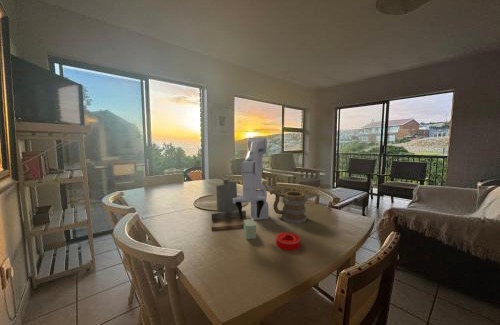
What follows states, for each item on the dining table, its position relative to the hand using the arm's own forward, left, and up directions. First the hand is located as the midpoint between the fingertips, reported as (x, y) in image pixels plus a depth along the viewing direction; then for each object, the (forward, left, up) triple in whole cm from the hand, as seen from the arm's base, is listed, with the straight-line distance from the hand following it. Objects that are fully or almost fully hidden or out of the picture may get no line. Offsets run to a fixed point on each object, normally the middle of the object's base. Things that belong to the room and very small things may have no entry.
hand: (249, 217), depth 90 cm
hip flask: (+8, -33, -8) cm, 35 cm away
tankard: (-24, -16, -8) cm, 30 cm away
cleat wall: (+8, -14, -8) cm, 18 cm away
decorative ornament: (-14, +11, -9) cm, 20 cm away
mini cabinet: (0, 0, -8) cm, 8 cm away
